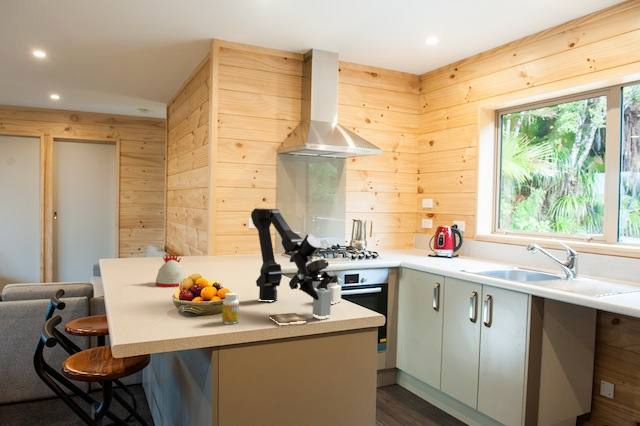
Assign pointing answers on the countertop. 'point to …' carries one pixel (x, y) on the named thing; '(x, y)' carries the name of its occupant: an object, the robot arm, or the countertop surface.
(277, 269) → the robot arm
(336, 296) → the medicine bottle
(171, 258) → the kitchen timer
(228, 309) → the supplement bottle
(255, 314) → the countertop surface
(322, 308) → the pillar
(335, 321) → the countertop surface
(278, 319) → the pedestal
